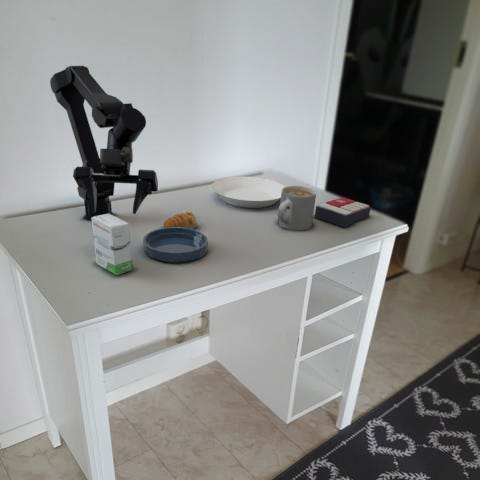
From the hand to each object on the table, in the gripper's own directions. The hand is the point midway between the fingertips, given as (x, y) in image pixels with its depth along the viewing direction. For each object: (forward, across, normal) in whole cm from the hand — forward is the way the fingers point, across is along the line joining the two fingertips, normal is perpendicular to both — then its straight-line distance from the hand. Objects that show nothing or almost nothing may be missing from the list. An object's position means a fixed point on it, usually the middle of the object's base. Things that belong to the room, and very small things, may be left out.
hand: (113, 212), depth 113 cm
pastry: (-7, +14, +24) cm, 29 cm away
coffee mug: (-11, +46, +28) cm, 55 cm away
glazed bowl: (+4, +14, +13) cm, 19 cm away
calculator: (-17, +63, +34) cm, 73 cm away
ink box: (+11, 0, +6) cm, 13 cm away
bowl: (-26, +34, +44) cm, 61 cm away
